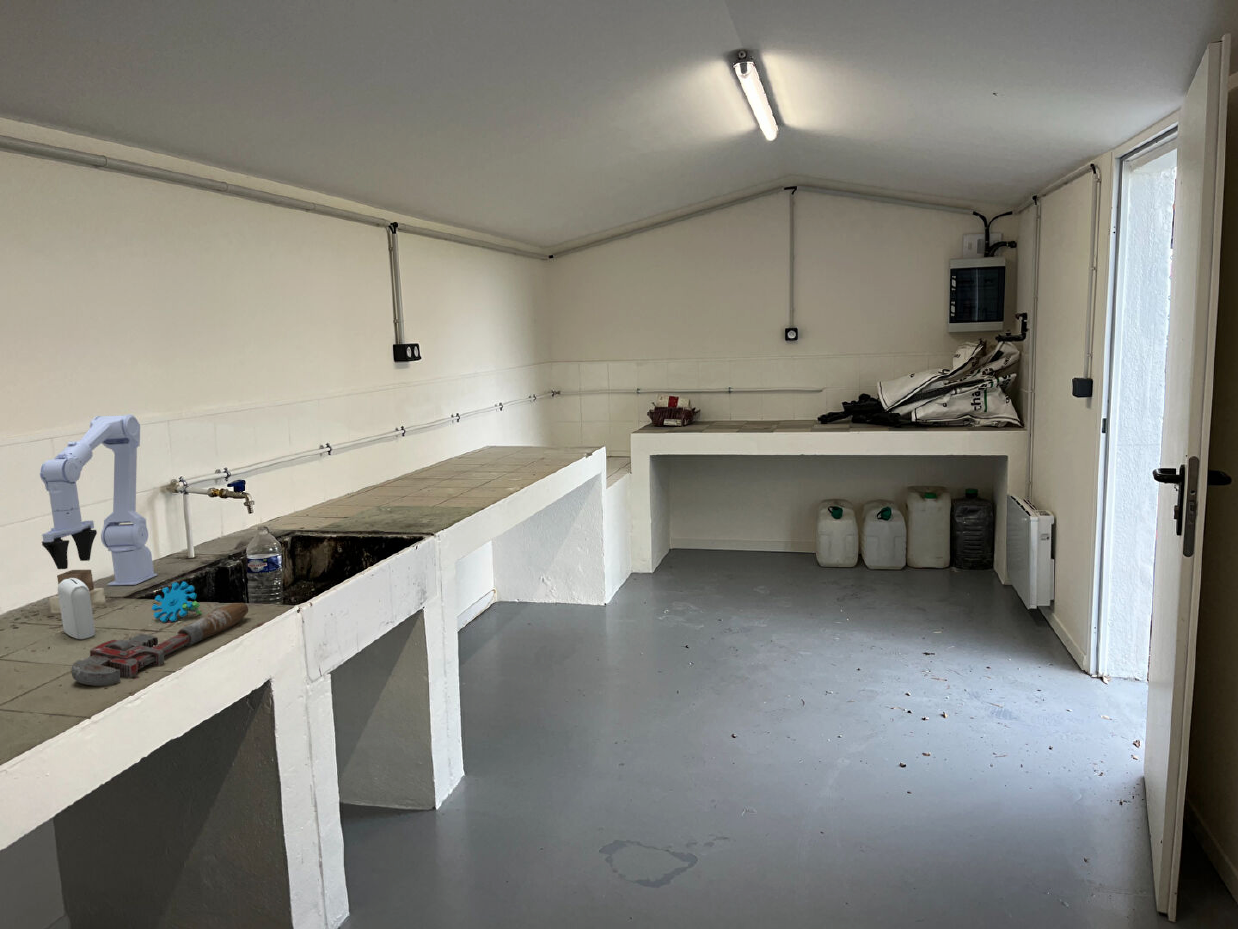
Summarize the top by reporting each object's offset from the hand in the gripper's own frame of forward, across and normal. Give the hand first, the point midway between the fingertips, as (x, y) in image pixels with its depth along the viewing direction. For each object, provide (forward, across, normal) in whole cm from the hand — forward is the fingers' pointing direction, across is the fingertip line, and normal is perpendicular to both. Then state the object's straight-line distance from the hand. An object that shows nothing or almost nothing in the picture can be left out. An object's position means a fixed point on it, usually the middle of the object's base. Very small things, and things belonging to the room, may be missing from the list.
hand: (74, 564), depth 216 cm
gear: (+11, +10, +32) cm, 35 cm away
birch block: (+11, +1, 0) cm, 11 cm away
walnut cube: (+7, +1, 0) cm, 7 cm away
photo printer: (+10, +21, +16) cm, 28 cm away
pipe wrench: (+11, +30, +43) cm, 53 cm away
